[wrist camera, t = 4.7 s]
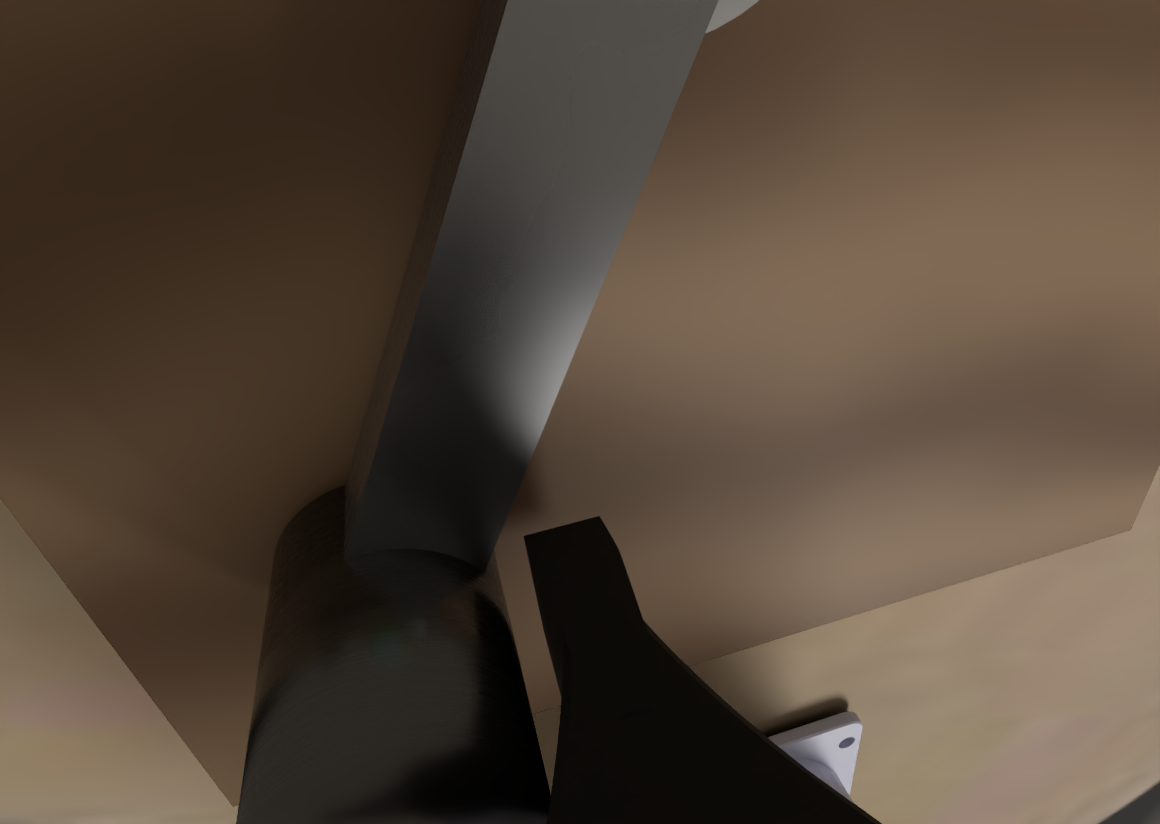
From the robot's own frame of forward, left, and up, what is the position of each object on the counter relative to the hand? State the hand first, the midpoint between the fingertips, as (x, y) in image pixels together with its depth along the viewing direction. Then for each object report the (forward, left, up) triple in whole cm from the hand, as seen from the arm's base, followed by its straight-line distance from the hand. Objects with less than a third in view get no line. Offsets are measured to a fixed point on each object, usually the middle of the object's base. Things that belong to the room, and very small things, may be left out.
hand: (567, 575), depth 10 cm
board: (+6, -3, -3) cm, 8 cm away
